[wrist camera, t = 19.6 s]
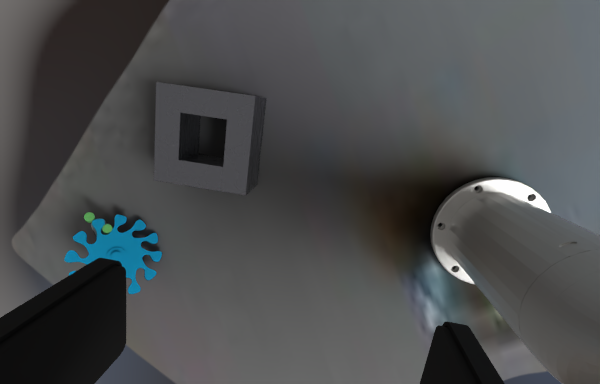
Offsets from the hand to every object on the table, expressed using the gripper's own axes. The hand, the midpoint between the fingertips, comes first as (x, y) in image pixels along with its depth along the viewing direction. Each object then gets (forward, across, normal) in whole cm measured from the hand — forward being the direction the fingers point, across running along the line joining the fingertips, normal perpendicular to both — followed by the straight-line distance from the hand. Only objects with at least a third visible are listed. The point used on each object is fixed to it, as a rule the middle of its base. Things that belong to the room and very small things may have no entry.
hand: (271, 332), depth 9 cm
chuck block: (+28, +12, -2) cm, 31 cm away
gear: (+29, +23, +13) cm, 39 cm away
